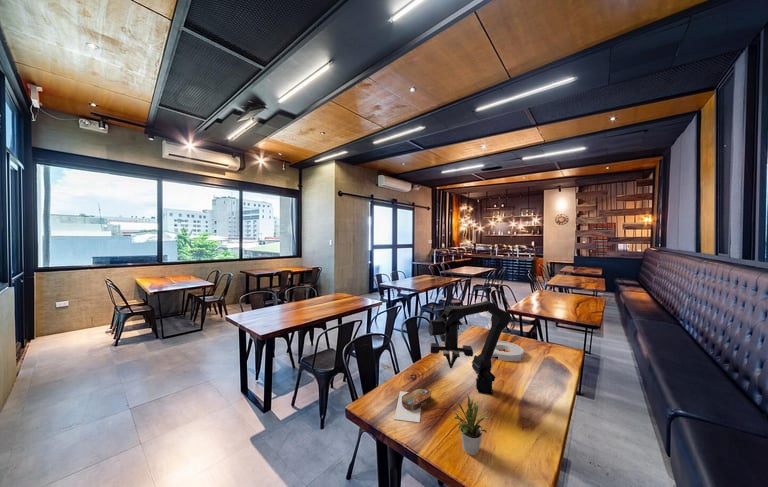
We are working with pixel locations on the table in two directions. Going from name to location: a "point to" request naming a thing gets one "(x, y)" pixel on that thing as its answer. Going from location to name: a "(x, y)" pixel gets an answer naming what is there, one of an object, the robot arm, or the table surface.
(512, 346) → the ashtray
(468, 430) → the house plant
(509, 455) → the table surface
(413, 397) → the tin
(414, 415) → the mat
